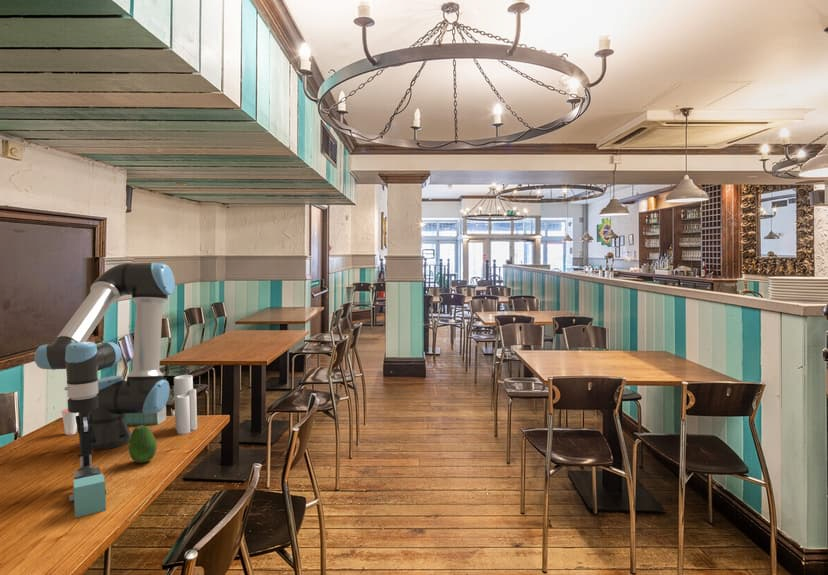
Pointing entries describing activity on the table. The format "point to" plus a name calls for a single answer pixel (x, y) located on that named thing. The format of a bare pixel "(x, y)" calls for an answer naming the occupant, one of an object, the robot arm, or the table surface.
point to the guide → (84, 474)
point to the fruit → (142, 444)
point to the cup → (69, 422)
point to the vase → (185, 404)
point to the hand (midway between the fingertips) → (86, 476)
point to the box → (146, 418)
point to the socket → (89, 495)
